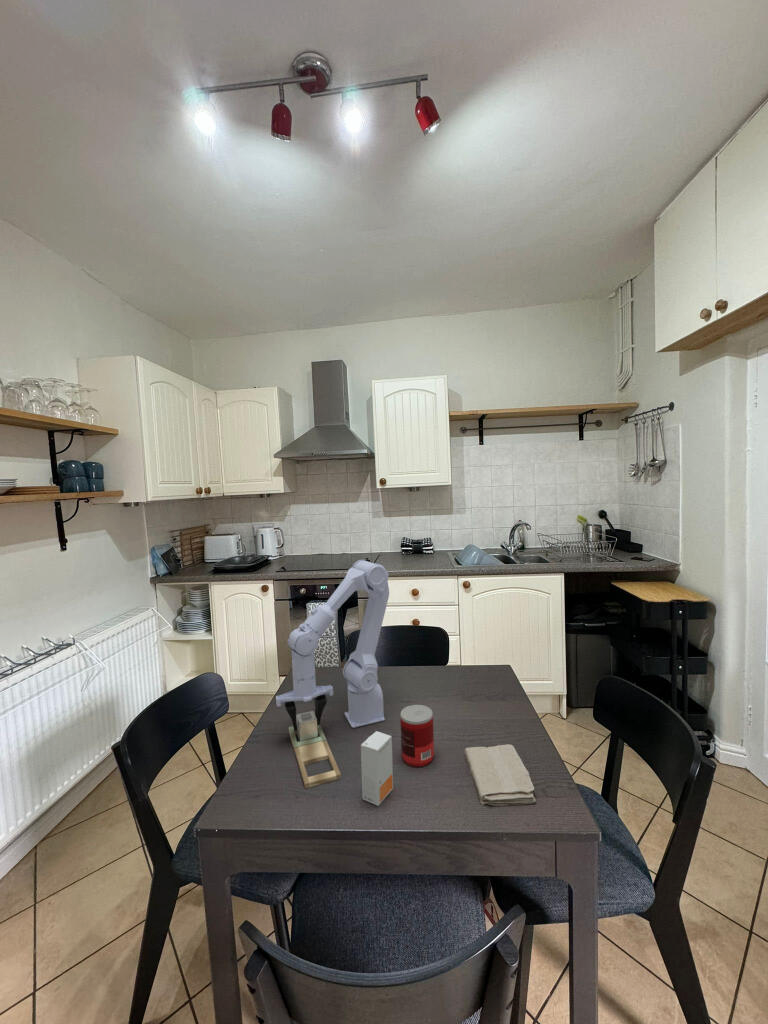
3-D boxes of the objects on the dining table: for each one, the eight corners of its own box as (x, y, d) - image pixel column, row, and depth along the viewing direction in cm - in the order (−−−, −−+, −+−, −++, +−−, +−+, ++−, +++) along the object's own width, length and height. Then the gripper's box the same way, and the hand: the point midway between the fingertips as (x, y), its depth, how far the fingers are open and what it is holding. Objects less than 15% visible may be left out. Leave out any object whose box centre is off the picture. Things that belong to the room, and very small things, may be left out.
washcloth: (482, 810, 87) (481, 795, 87) (462, 754, 105) (462, 742, 105) (540, 806, 88) (540, 792, 88) (511, 751, 106) (510, 739, 106)
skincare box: (379, 807, 89) (376, 750, 88) (361, 800, 91) (359, 744, 90) (394, 789, 94) (392, 735, 93) (377, 782, 96) (375, 730, 95)
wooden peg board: (318, 724, 120) (317, 720, 120) (340, 778, 98) (340, 773, 98) (288, 731, 117) (288, 726, 117) (305, 788, 95) (305, 783, 95)
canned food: (437, 750, 107) (435, 706, 106) (429, 770, 99) (428, 724, 99) (407, 744, 109) (405, 702, 109) (397, 764, 102) (396, 719, 101)
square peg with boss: (314, 732, 116) (313, 709, 116) (317, 741, 112) (316, 718, 112) (297, 736, 115) (296, 713, 114) (300, 746, 111) (299, 722, 110)
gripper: (277, 687, 107) (280, 741, 107) (335, 676, 112) (337, 727, 113) (274, 676, 113) (276, 726, 114) (328, 665, 118) (330, 714, 119)
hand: (306, 726), depth 114 cm, fingers open, 5 cm apart
